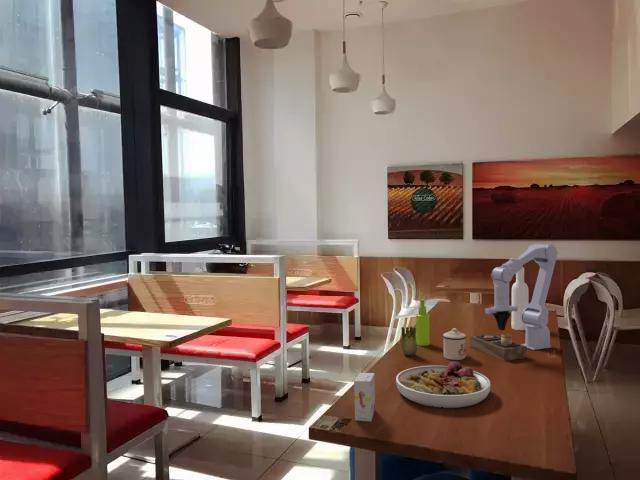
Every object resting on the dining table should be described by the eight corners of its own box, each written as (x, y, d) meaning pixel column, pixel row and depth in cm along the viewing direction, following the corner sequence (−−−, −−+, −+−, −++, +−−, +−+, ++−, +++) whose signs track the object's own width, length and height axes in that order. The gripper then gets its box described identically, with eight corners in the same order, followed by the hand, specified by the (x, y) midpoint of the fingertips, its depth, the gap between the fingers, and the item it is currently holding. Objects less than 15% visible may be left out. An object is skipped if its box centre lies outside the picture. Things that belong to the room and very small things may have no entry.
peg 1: (490, 346, 228) (490, 335, 228) (496, 349, 224) (496, 337, 224) (482, 347, 227) (481, 336, 227) (488, 350, 223) (488, 338, 223)
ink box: (359, 409, 162) (358, 371, 162) (375, 410, 161) (375, 372, 160) (354, 420, 154) (353, 380, 153) (371, 422, 153) (370, 381, 152)
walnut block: (491, 344, 233) (491, 332, 232) (527, 357, 212) (527, 344, 212) (470, 347, 229) (470, 335, 229) (504, 360, 208) (504, 347, 208)
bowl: (475, 419, 154) (475, 392, 154) (381, 400, 170) (380, 376, 169) (500, 387, 179) (500, 364, 179) (416, 374, 195) (416, 353, 195)
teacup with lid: (463, 361, 209) (462, 332, 208) (440, 358, 213) (439, 330, 212) (470, 353, 219) (470, 325, 218) (448, 351, 223) (448, 323, 223)
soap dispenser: (430, 342, 238) (430, 297, 237) (428, 346, 232) (428, 300, 230) (417, 341, 240) (417, 297, 239) (415, 345, 234) (414, 300, 232)
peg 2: (507, 345, 218) (507, 333, 217) (514, 348, 214) (514, 336, 214) (498, 347, 216) (498, 334, 216) (505, 349, 213) (505, 337, 212)
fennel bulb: (400, 355, 219) (399, 326, 218) (407, 352, 223) (406, 324, 222) (412, 357, 215) (412, 328, 214) (418, 355, 219) (418, 326, 218)
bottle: (531, 330, 256) (531, 268, 254) (514, 330, 256) (514, 268, 254) (525, 326, 264) (525, 266, 262) (509, 326, 264) (509, 266, 262)
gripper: (510, 293, 223) (510, 326, 224) (480, 296, 218) (480, 329, 219) (521, 296, 216) (521, 329, 217) (491, 299, 211) (491, 333, 212)
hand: (501, 329), depth 217 cm, fingers closed
